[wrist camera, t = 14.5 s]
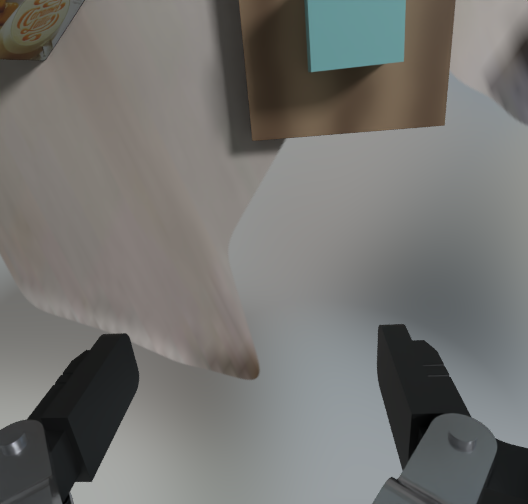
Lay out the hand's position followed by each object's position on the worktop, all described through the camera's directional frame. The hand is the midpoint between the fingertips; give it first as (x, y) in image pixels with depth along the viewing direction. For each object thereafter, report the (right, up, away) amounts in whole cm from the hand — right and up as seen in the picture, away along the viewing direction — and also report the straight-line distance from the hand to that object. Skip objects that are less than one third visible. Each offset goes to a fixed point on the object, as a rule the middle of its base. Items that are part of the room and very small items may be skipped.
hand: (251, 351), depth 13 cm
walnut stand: (+7, +22, +21) cm, 31 cm away
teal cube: (+7, +21, +18) cm, 28 cm away
